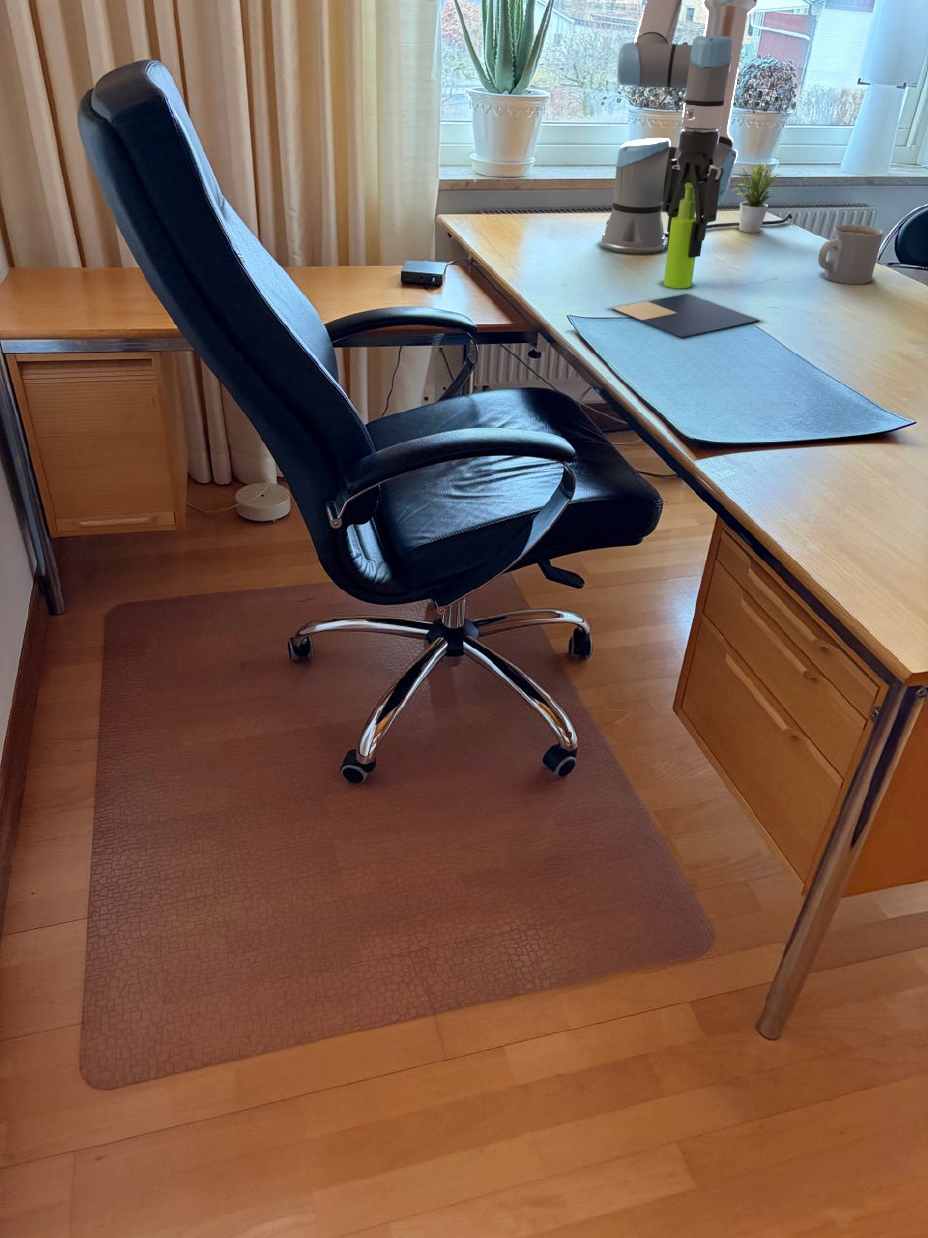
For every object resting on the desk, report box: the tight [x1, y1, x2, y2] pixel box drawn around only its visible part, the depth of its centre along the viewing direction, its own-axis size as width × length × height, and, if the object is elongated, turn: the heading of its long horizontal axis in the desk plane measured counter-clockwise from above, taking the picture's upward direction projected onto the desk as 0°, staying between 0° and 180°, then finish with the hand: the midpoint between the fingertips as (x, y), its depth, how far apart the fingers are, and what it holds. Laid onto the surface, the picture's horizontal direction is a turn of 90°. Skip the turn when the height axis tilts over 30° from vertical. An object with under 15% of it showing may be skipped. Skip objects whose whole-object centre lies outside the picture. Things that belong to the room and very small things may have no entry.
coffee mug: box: [817, 224, 884, 285], centre depth 199 cm, size 13×10×10 cm
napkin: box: [611, 293, 760, 339], centre depth 178 cm, size 20×20×1 cm
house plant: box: [733, 162, 782, 234], centre depth 235 cm, size 14×14×16 cm
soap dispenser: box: [663, 181, 696, 289], centre depth 190 cm, size 6×7×20 cm
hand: (682, 252), depth 192 cm, fingers closed on soap dispenser, 6 cm apart
